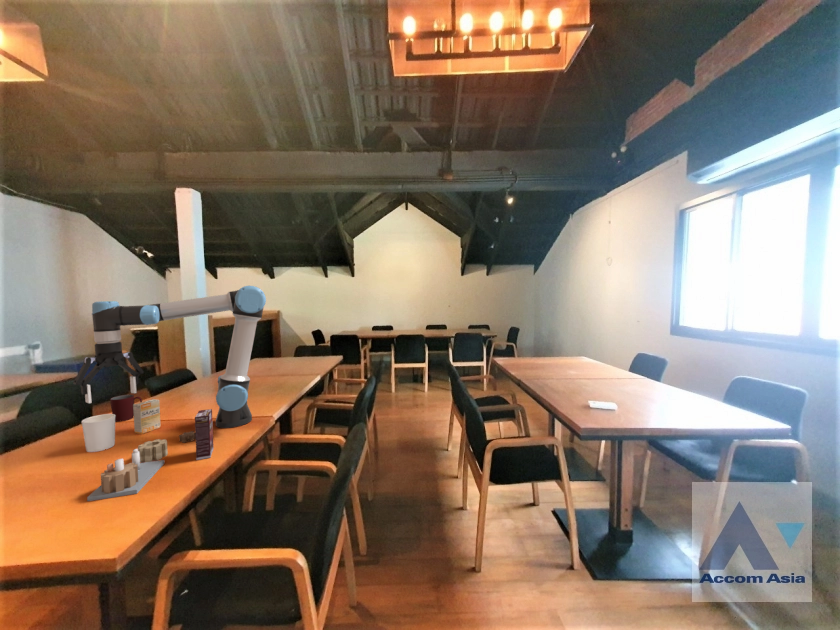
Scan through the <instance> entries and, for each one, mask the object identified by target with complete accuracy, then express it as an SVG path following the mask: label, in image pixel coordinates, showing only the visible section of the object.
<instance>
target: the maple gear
mask: <svg viewBox="0 0 840 630" xmlns="http://www.w3.org/2000/svg"><path fill="white" fill-rule="evenodd" d="M137 449H138V451H139V453H140V463H145V462H152V461H160V460H163V457H167V456H168V455H169V454H168V452H169V451H168V441H167V439H165V438H164V439H163V438H162V439H161V438H157V439H154V440H152V441H151V440H148V441H145V442H143V443H142V444H138V446H137Z"/></svg>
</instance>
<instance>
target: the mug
mask: <svg viewBox="0 0 840 630" xmlns="http://www.w3.org/2000/svg"><path fill="white" fill-rule="evenodd" d="M109 399H110V400H109V401H110V402H109V403H110V407H111V414H115V423H116V422H117V423H121V422H126V421H130V420H131V419H134V410H133V404H135V400H136V399H138V400H139V401H140V402H143V400H142V399H143V398H141V396H135V395H134V394H122V395H117V396H114V397H111V398H109ZM140 402H139V403H140Z"/></svg>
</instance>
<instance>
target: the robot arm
mask: <svg viewBox="0 0 840 630" xmlns="http://www.w3.org/2000/svg"><path fill="white" fill-rule="evenodd" d="M266 302H267V298H266V294H265V292H264V291H263V290H262V289H261V288H260V287H257V286H255V285H244V286H242V287H241V288H239V289H237V290H232V291H228V292H227V293H226V294H220V295H213V296H205V297H198V298H197V297H196V298H189V299H183V300H175V301H169V302H168V301H167V302H161V303H153V304H146V305H127V306H126V305H120V303H119V302H118V301H117V300H115V301H113V300H112V301H111V300H110V301H102V300H101V301H94V302H92V304H91V306H92V307H91V308H92V309H91V316H92V317H91V318H92V326H93V339H94V342H95V343H94V355H95V356H94V357H84V358H83V362H82V363H83V364H82V366H81V367H80V369H79V372H78V373H77V375H76V377H75V379H74V380H73V382H72V384H73V385H76V386H80V393H81V395H83V396H84V398H85V403H87V404H92V401H93V400H92V392H91V384H89V383H90V382H91V381H92V380H93V379H94V377H95V376H96V375H97V374H99V372H100V371H101V370H102V369H103V368H109V367H116V366H119V367H120V368H122V369H123V371H125V372H127V373H128V374H130V375H131V376H129V381H130V382H129V383H130V393H131V394H137V393H138V392H137V385H138V384H139V377H140V376H141V375H142V374H144V372H145V371H144V370H143V368H142V367H141V365H139V363H138V362H137V360H136V359H135V357H134V354H133V352H132V351H127V352H126V353H125V352H124V353H123V346H122V333H121V332H122V331H121V326H122V327H123V326H124V327H125V326H143V325H146V326H150V325H156V324H158V323H159V322H163V321H169V320H170V321H171V320H176V319H181V318H182V319H183V318H189V317H190V318H191V317H195V316H196V317H197V316H201V315H209V314H214V313H215V314H216V313H222V312H228V311H229V312H231V313H232V315H233V317H234V325H233V331H232V336H231V341H230V347H229V352H228V358H227V362H226V367H225V372H224V373H223V374H221V375H219V376H218V378H217V384H218V385H217V387H218V388H217V393H216V395H215V402H216V404H217V406H218V407H219V408H218V412H217V416H216V418H215V427H217V428H221V429H229V428H237V427H240V426H244V425H246V424H249V423H250V422H252V420H253V414H252V412H251V410H250V407H249V405H248V398H249V393H248V392H249V388H250V383H251V378H250V376H248V372H249V367H250V362H251V356H252V351H253V346H254V340H255V336H256V329H257V326H258V325H257V324H258V322H259V321H260V320H261V319H262V317H263V312H264V308H265V306H266ZM123 358H125V359H126V360H128V362H129V364H130V365H131V366H132V368H131V367H130V366H129V365H127V364H126V363H125V362H124V361H123ZM93 362H95V363H96V364H95V365H94V367H93V368H92V369H91V370H90V371H89V369H90V367H91V364H93ZM88 371H89V372H88ZM87 372H88V374H87ZM86 374H87V375H86Z"/></svg>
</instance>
